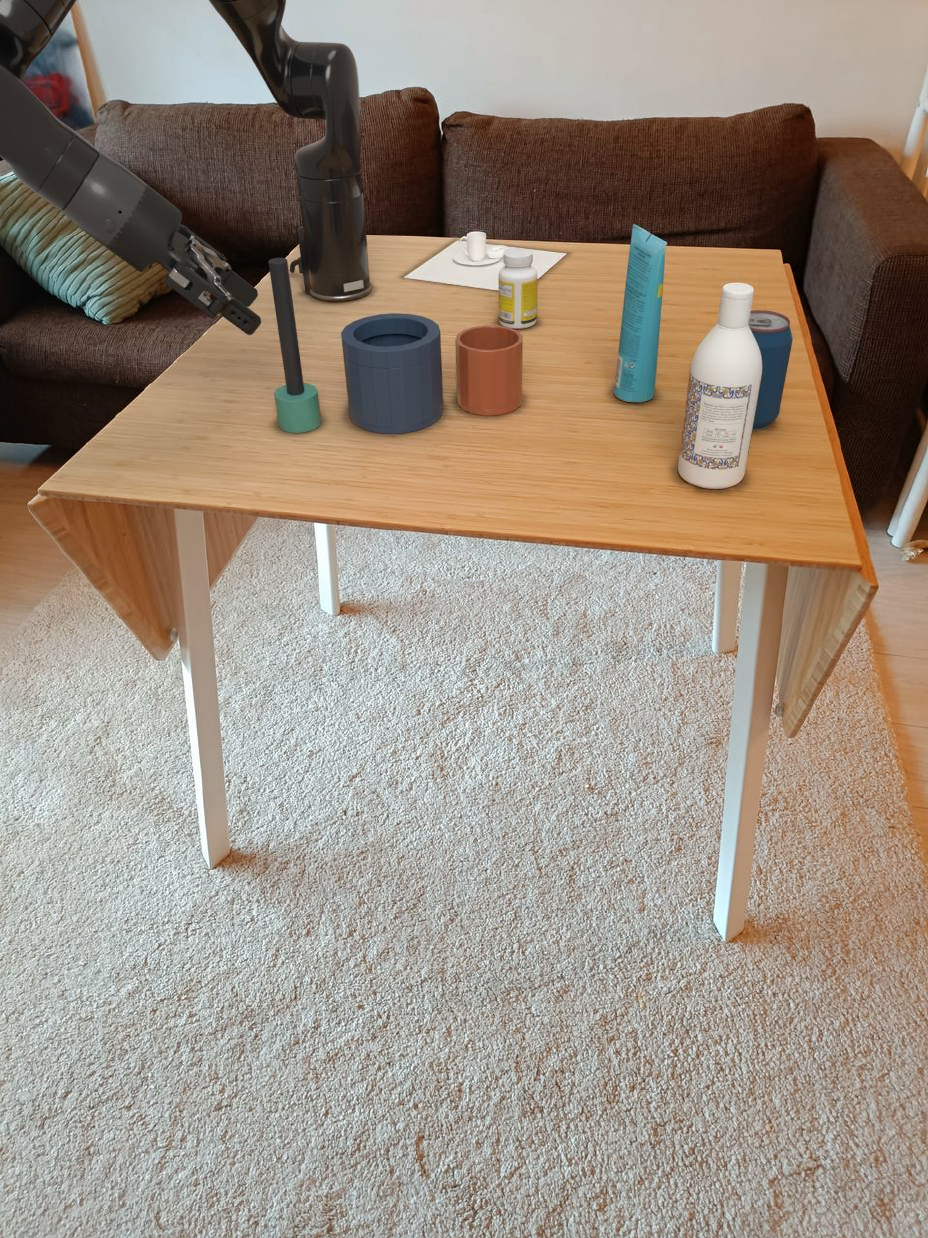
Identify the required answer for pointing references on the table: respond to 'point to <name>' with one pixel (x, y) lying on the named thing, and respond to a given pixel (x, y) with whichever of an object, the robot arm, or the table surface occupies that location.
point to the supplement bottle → (517, 289)
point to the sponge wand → (291, 360)
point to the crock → (489, 369)
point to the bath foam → (722, 396)
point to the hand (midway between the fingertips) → (255, 313)
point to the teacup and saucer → (476, 263)
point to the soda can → (770, 362)
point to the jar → (393, 372)
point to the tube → (641, 318)
